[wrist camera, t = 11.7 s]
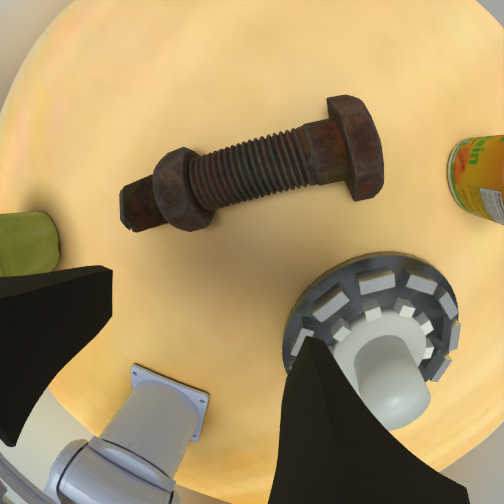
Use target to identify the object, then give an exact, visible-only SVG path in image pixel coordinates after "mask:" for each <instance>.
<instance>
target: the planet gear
mask: <svg viewBox="0 0 504 504" xmlns="http://www.w3.org/2000/svg"><path fill="white" fill-rule="evenodd" d="M361 304H362V309H363V313H361V314H360V315H358V316H356V317H355V318H353V319H352V320H351V321H349V322H348V321H346V320H345V319H343V318H342V317H340V318H339V319H338V320H337V321H336V322H335V324H334V325H333V326H332V327H331V330H332V337H333V338H335V341H334V343H333V346H328V348H329V350H330V351H331V353H332V355H333V356H334V358H335V360H336V361H337V363H338V365H339V366H340V368H341V370H342V371H343V373H344V374H345V376H346V378H347V379H348V381H349V382H350V384H351V385H352V387H353V388H354V390H355V391H356V393H357V394H358V395H359V397H360V398H361V399H362V401H363V402H364V403H365V405H366V406H367V407H368V409H369V410H370V411H371V412H372V414H373V415H374V416H375V417H376V418H377V419H378V420H379V422H380V423H381V424H382V425H383V426H384V427H385V428H386V429H387V430H388V431H391V430H395V429H399V428H401V427H404V426H406V425H408V424H410V423H411V422H413V421H414V420H416V419H417V418H418V417H419V416H421V415H422V414H423V412H424V411H425V410H426V409H427V407H428V405H429V403H430V399H431V396H430V392H429V390H428V388H427V386H426V383H425V381H424V379H423V377H422V375H421V373H420V371H419V369H418V366H419V364H420V363H421V361H422V359H427V358H431V355H432V352H433V349H434V346H433V344H432V343H431V341H430V340H429V338H426V336H425V335H427V334H428V333H430V332H431V331H432V330H434V329H433V327H432V325H431V322H430V320H429V319H428V318H427V316H426V315H425V314H424V312H422V313H421V314H419V315H418V316H417V317H414V316H413V313H414V311H415V307H414V306H413V305H412V303H411V302H410V301H409V300H406V299H402V298H399V297H398V298H397V300H396V302H395V304H394V306H393V307H380V306H379V304H378V302H377V301H376V299H372V300H369V301H366V302H363V303H361Z"/></svg>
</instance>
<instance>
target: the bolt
mask: <svg viewBox="0 0 504 504" xmlns="http://www.w3.org/2000/svg"><path fill="white" fill-rule="evenodd" d="M326 99H327V107H328V114H329V119H325V120H321V121H316V122H311V123H307V124H304V125H303V126H301V127H298V128H297V129H294V128H293V129H292V130H291V133H290V132H289V131H288V130H286V131H285V134H283V133H282V132H279V135H276V134H275V133H273V136H272V137H271V136H270V135H267V137H266V139H265V138H264V137H263V136H261V137H260V140H258V139H257V138H254V141H253V142H252V141H251V140H248V142H247V143H246V142H242V145H241V144H239V143H238V144H237V145H236V147H235V146H234V145H231V147H230V148H229V147H226V148H225V149H224V150H223V149H220V150H219V152H218V151H214V152H213V153H209V154H208V155H203V156H202V157H201V156H199V155H198V154H197V153H196V152H194V151H192V150H190V149H188V148H185V147H182V148H179V149H177V150H174V151H172V152H169V153H167V154H166V155H165V156H164V157H163V158H162V159H161V160H160V161H159V163H158V164H157V165H156V167H155V169H154V173H153V175H149V176H148V177H145V178H143V179H140V180H138V181H136V182H133V183H131V184H129V185H126V186H124V187H123V190H121V191H120V194H119V198H120V220H121V222H122V223H123V224H124V225H125V227H126V228H128V229H129V230H130V229H132V231H133V232H140V231H144V230H147V229H149V228H153V227H156V226H159V225H162V224H165V223H170V224H171V225H172V226H174V227H176V228H178V229H181V230H184V231H189V232H192V231H195V230H199V229H203V228H206V227H207V226H208V225H209V223H210V222H211V220H212V218H213V217H214V214H215V209H218V208H219V207H220V208H223V207H224V206H229V205H230V204H232V205H234V204H235V203H236V202H237V203H240V202H242V201H244V202H245V201H246V200H252V199H253V198H255V199H257V198H258V197H259V196H261V197H264V195H265V194H266V195H270V193H271V192H272V193H273V194H276V192H277V191H279V192H282V190H283V189H284V190H285V191H288V189H289V188H290V189H291V190H294V188H295V186H296V187H297V188H298V189H299V188H300V186H301V184H302V185H303V186H304V187H306V186H307V183H308V184H309V185H310V186H312V185H316V184H318V185H324V184H329V183H334V182H339V181H344V180H345V182H346V184H347V186H348V189H349V191H350V193H351V196H352V198H353V200H354V202H355V201H359V200H364V199H369V198H373V197H374V196H375V195H376V194H378V193H379V191H380V190H381V189H382V187H383V184H384V162H383V153H382V146H381V141H380V138H379V135H378V132H377V129H376V127H375V124H374V122H373V120H372V117H371V115H370V113H369V111H368V110H367V108H366V106H365V104H364V103H363V102H362V101H361V100H360V99H359V98H356V97H354V96H350V95H340V96H334V97H329V98H326Z"/></svg>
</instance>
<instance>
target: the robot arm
mask: <svg viewBox="0 0 504 504" xmlns="http://www.w3.org/2000/svg"><path fill="white" fill-rule="evenodd" d="M112 277H113V270H111V269H108V268H106V267H104V266H101V265H95V266H85V267H78V268H72V269H65V270H59V271H53V272H47V273H39V274H32V275H23V276H8V277H0V439H1V440H2V441H3V442H4V443H5V445H6V446H9V447H14V446H16V443H17V440H18V438H19V435H20V433H21V431H22V428H23V426H24V424H25V422H26V420H27V418H28V416H29V415H30V413H31V411H32V409H33V408H34V406H35V404H36V402H37V401H38V400H39V398H40V397H41V395H42V394H43V392H44V390H45V389H46V388H47V386H48V385H49V384H50V382H51V381H52V380H53V379H54V377H55V376H56V375H57V373H58V372H59V371H60V370H61V369H62V368H63V367H64V366H65V365H66V364H67V363H68V362H69V361H70V360H71V359H72V358H73V357H74V356H75V355H76V354H77V353H79V352H80V351H81V350H82V349H83V348H84V347H85V346H86V345H87V344H88V343H89V342H90V341H91V340H92V339H93V338H94V337H95V336H96V335H97V334H98V333H99V332H100V331H101V330H102V328H103V327H104V326H105V325H106V323H107V322H108V321H109V319H110V318H111V317H112ZM131 381H132V392H131V394H130V395H129V396H128V398H127V399H126V400H125V402H124V403H123V405H122V406H121V407H120V409H119V410H118V411H117V413H116V414H115V416H114V417H113V418H112V420H111V421H110V422H109V424H108V425H107V427H106V428H105V429H104V431H103V432H102V434H101V435H100V436H99V438H98V437H96V436H94V437H93V438H92V439H91V441H90V442H88V441H87V440H85V439H80V440H74V441H72V442H70V443H69V444H68V445H67V446H66V447H65V448H64V449H63V450H62V451H61V453H60V454H59V455H58V457H57V458H56V460H55V462H54V463H53V465H52V467H51V470H50V473H49V479H48V482H47V484H46V486H45V488H44V490H43V492H42V491H41V490H40V489H38V488H37V487H36V486H35V485H34V484H32V483H31V482H30V481H29V480H28V479H27V478H25V477H24V476H23V475H22V474H21V473H20V472H19V471H18V470H17V469H16V468H15V467H14V466H13V465H12V464H10V462H9V461H8V460H7V459H6V458H5V457H4V456H3V455H2V454H1V453H0V477H1V478H2V479H3V480H4V481H5V482H6V483H7V484H8V485H9V486H10V487H11V488H12V489H13V490H14V491H15V492H16V493H17V494H18V495H19V496H20V497H21V498H22V499H24V500H25V501H26V502H27V503H28V504H183V500H182V498H181V496H180V493H179V492H177V491H175V490H173V488H174V486H175V484H176V481H175V480H173V478H174V476H175V474H176V471H177V469H178V467H179V465H180V462H181V460H182V458H183V455H184V453H185V451H186V448H187V446H188V444H189V442H190V441H193V442H198V440H199V436H200V432H201V428H202V424H203V420H204V416H205V412H206V408H207V404H208V400H209V395H208V394H207V393H205V392H202V391H199V390H196V389H193V388H191V387H188V386H185V385H183V384H180V383H178V382H175V381H173V380H170V379H168V378H165V377H163V376H161V375H158V374H156V373H154V372H151V371H149V370H147V369H145V368H142V367H140V366H138V365H136V364H133V365H132V366H131ZM6 492H7V488H6V486H5V485H4V484H3V483H2V482H1V480H0V504H14V503H13V502H12V501H11V500H10V499H9V498H7V497H6V496H5V495H4V494H5V493H6ZM268 504H470V502H469V497H468V493H467V489H466V487H464V486H462V485H460V484H458V483H456V482H455V481H453V480H451V479H449V478H447V477H445V476H443V475H442V474H440V473H438V472H437V471H435V470H434V469H432V468H431V467H430V466H428V465H427V464H425V463H424V462H423V461H421V460H420V459H419V458H417V457H416V456H415V455H414V454H412V453H411V452H410V451H409V450H408V449H406V448H405V447H404V446H403V445H402V444H401V443H400V442H399V441H398V440H397V439H396V438H394V437H393V436H392V435H391V434H390V433H389V431H388V430H387V429H386V428H385V427H384V426H383V425H382V424H381V423H380V422H379V420H378V419H377V418H376V417H375V416H374V415H373V414H372V412H371V411H370V410H369V409H368V407H367V406H366V405H365V403H364V402H363V401H362V399H361V398H360V397H359V395H358V394H357V393H356V391H355V390H354V388H353V387H352V385H351V384H350V382H349V381H348V379H347V378H346V376H345V374H344V373H343V371H342V370H341V368H340V366H339V365H338V363H337V361H336V360H335V358H334V356H333V355H332V353H331V351H330V350H329V348H328V346H327V345H326V343H325V342H324V340H323V339H319V338H315V337H311V336H307V335H306V336H305V339H304V341H303V343H302V346H301V348H300V350H299V352H298V354H297V357H296V359H295V361H294V363H293V365H292V367H291V370H290V372H289V374H288V376H287V378H286V383H285V388H284V393H283V399H282V406H281V421H280V436H279V449H278V459H277V466H276V471H275V476H274V480H273V485H272V489H271V493H270V497H269V501H268Z"/></svg>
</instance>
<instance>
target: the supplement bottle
mask: <svg viewBox="0 0 504 504" xmlns="http://www.w3.org/2000/svg"><path fill="white" fill-rule="evenodd" d="M448 181H449V186H450V189H451V192H452V194H453V196H454V198H455V200H456V201H457V203H458V204H459V205H460V206H461V207H462V208H463V209H464V210H466V211H467V212H469V213H471V214H474V215H476V216H479V217H482V218H485V219H488V220H491V221H494V222H496V223H499V224H502V225H504V135H496V136H486V137H476V138H469V139H465V140H463V141H461V142H459V143H458V144H457V145H456V146H455V147H454V149H453V151H452V153H451V155H450V158H449V163H448Z"/></svg>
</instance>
